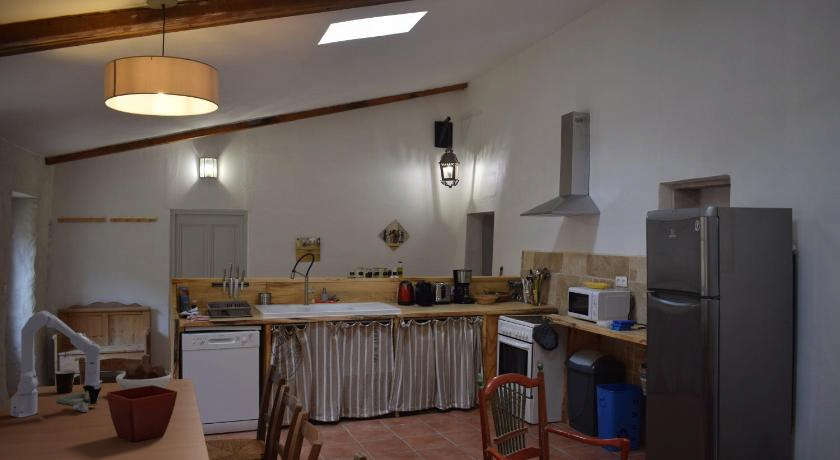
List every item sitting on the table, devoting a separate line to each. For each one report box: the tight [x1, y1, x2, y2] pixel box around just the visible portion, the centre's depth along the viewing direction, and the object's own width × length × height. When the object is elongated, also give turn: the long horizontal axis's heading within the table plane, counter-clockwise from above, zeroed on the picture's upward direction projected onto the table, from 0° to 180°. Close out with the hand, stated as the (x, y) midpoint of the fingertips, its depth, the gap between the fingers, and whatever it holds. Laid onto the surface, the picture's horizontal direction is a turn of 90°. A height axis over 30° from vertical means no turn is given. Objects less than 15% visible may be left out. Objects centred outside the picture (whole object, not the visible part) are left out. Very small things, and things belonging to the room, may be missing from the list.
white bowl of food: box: [115, 363, 172, 390], centre depth 324 cm, size 25×25×15 cm
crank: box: [72, 399, 89, 413], centre depth 287 cm, size 10×4×5 cm, turn 53°
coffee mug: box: [54, 369, 76, 395], centre depth 327 cm, size 12×9×10 cm
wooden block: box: [86, 391, 99, 407], centre depth 293 cm, size 4×4×6 cm
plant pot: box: [106, 385, 178, 443], centre depth 255 cm, size 19×19×17 cm
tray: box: [56, 392, 102, 406], centre depth 306 cm, size 13×13×2 cm
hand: (91, 402), depth 293 cm, fingers closed on wooden block, 4 cm apart
